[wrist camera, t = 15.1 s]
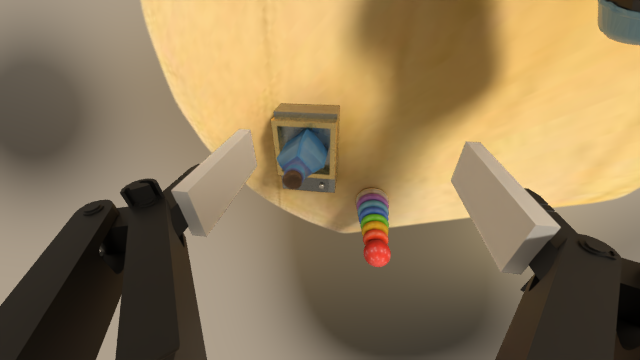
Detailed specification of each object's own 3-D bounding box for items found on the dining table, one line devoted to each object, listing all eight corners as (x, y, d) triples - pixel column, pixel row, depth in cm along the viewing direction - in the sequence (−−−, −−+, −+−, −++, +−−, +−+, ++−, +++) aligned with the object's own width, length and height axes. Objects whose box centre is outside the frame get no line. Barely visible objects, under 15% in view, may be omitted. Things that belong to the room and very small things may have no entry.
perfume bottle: (308, 126, 44) (292, 157, 34) (328, 150, 46) (319, 185, 36) (285, 143, 46) (265, 176, 37) (305, 165, 49) (291, 201, 39)
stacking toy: (361, 213, 61) (361, 278, 46) (351, 190, 57) (347, 253, 42) (391, 207, 58) (402, 273, 43) (383, 182, 54) (391, 246, 39)
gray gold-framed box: (281, 103, 47) (270, 115, 41) (339, 105, 45) (336, 118, 40) (288, 176, 57) (280, 193, 52) (336, 180, 56) (333, 198, 50)
